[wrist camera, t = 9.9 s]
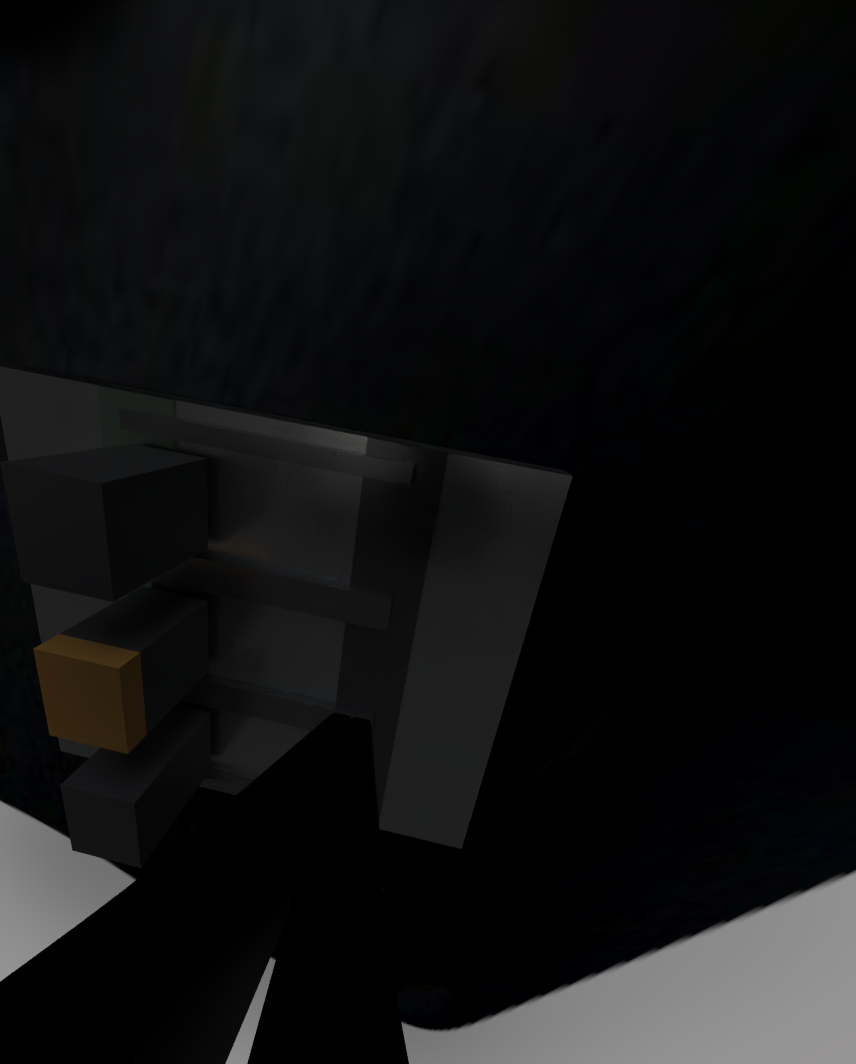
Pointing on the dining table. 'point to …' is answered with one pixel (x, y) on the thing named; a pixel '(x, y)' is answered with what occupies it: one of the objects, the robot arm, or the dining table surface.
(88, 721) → the handle
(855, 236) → the dining table surface
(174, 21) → the dining table surface
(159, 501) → the handle
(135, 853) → the handle
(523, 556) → the panel
